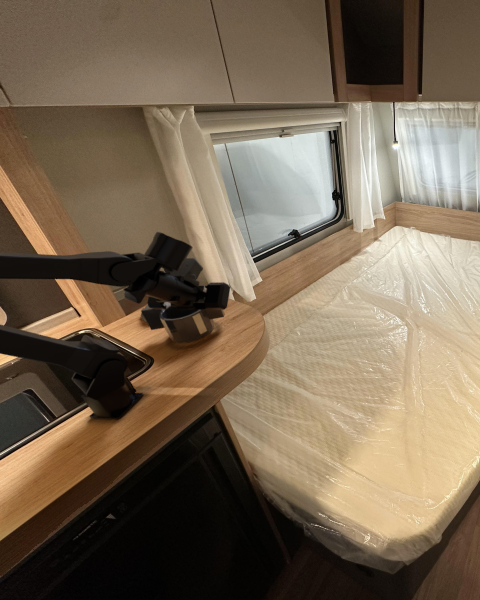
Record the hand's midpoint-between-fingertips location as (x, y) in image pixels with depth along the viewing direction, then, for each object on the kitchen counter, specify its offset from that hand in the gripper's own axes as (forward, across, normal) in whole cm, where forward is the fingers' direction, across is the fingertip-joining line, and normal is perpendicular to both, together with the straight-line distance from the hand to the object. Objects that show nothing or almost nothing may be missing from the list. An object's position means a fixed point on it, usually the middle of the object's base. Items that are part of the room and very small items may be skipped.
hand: (212, 304), depth 83 cm
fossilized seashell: (+12, +23, 0) cm, 26 cm away
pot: (+4, +7, +6) cm, 11 cm away
